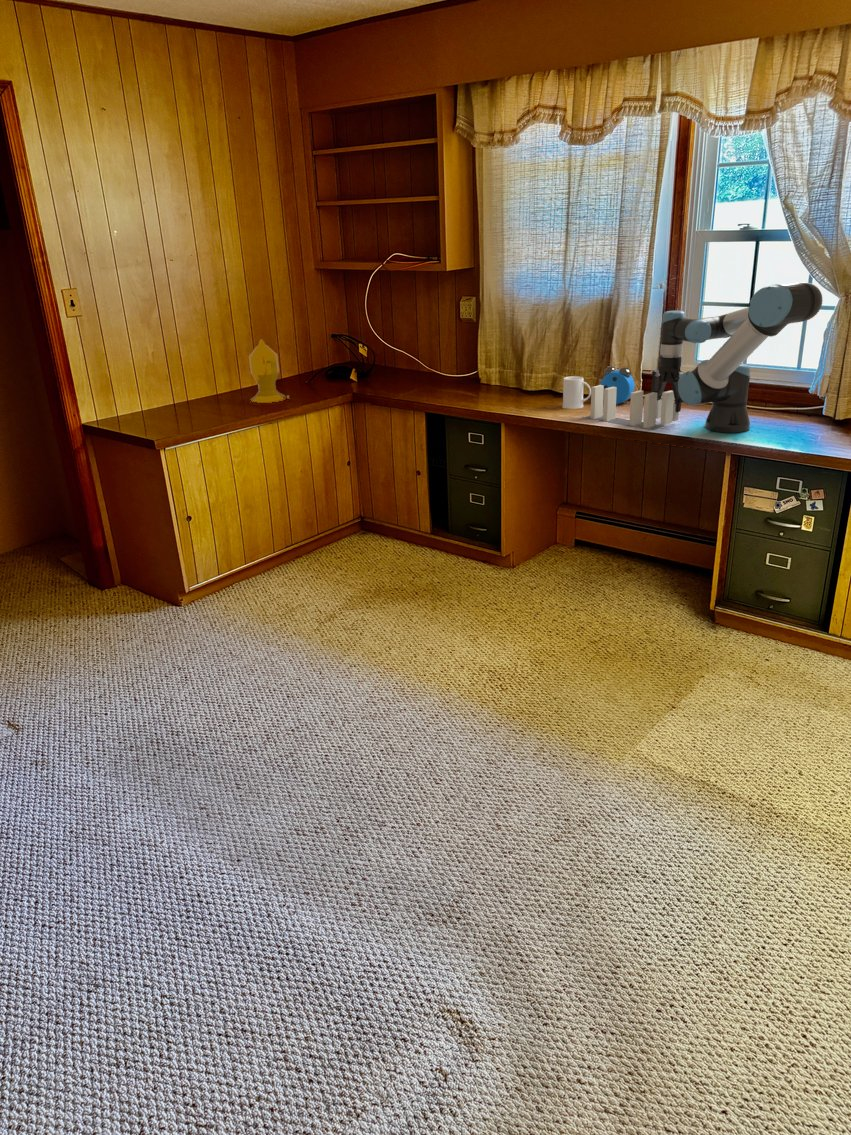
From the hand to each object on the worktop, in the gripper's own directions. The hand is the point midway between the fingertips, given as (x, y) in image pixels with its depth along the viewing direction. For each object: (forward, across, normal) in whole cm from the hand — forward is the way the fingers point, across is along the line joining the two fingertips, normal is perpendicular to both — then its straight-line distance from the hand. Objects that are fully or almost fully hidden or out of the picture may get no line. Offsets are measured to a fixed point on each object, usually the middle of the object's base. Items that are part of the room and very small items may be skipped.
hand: (666, 418), depth 310 cm
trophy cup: (+2, +163, +70) cm, 177 cm away
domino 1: (+2, +26, +8) cm, 27 cm away
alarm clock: (+2, +36, -18) cm, 40 cm away
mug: (+2, +44, -2) cm, 44 cm away
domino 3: (+2, +8, +8) cm, 11 cm away
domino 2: (+2, +20, +8) cm, 22 cm away
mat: (+2, +14, +8) cm, 16 cm away
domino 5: (+2, 0, 0) cm, 2 cm away
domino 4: (+2, +2, +8) cm, 8 cm away
